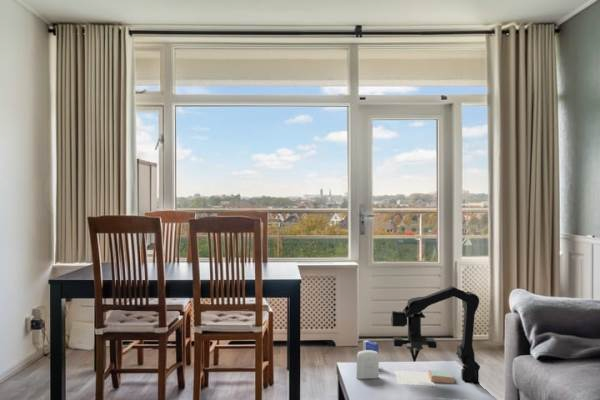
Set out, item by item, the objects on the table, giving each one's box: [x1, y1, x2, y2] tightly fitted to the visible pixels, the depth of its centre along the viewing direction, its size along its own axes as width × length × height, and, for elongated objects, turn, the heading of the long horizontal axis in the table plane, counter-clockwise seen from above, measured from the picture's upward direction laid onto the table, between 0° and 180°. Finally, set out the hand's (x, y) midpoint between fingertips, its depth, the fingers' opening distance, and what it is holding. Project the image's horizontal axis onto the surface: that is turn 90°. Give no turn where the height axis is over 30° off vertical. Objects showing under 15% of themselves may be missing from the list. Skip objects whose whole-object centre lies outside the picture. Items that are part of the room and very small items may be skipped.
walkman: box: [362, 340, 379, 353], centre depth 217 cm, size 8×3×12 cm, turn 40°
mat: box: [394, 370, 436, 387], centre depth 201 cm, size 16×16×1 cm
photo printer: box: [356, 350, 380, 380], centre depth 203 cm, size 10×4×12 cm, turn 98°
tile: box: [428, 369, 455, 384], centre depth 200 cm, size 3×7×10 cm
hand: (414, 361), depth 201 cm, fingers closed
